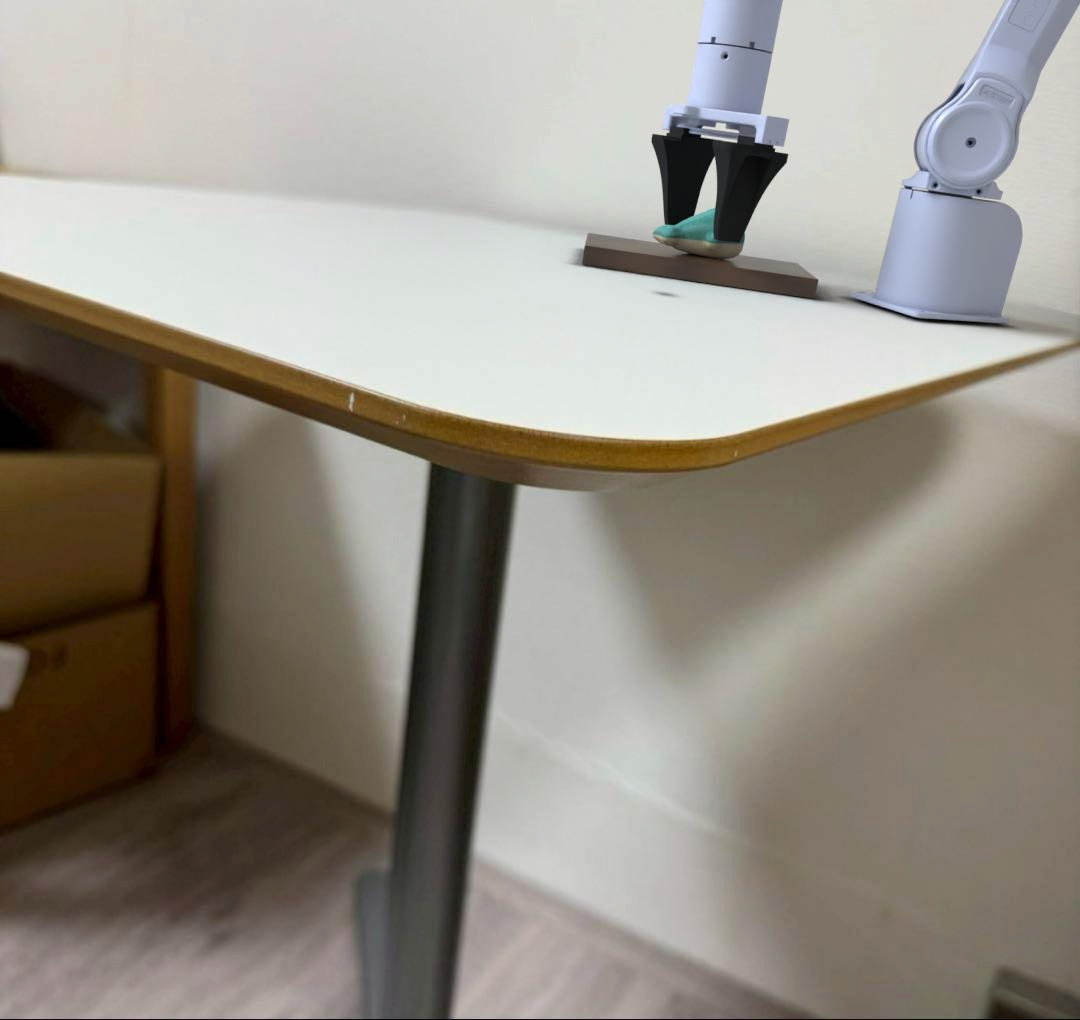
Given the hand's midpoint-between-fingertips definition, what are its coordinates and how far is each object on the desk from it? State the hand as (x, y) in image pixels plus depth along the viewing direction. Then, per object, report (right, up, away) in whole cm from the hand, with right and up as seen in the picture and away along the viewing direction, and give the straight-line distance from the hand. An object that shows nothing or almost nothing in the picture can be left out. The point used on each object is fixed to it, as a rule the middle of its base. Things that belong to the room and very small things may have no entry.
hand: (700, 233), depth 84 cm
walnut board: (0, -3, +1) cm, 3 cm away
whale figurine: (0, -2, +1) cm, 2 cm away
